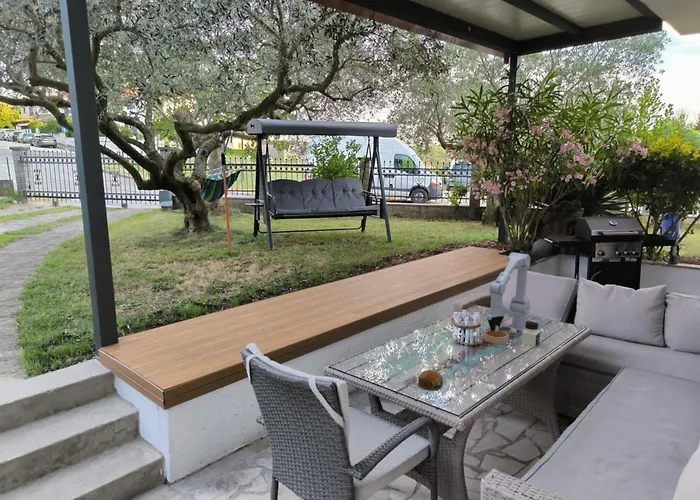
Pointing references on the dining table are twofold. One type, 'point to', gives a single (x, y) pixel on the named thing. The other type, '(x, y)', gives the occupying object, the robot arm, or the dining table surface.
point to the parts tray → (506, 329)
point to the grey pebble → (512, 331)
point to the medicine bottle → (531, 334)
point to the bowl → (496, 337)
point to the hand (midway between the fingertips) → (494, 330)
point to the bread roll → (431, 380)
